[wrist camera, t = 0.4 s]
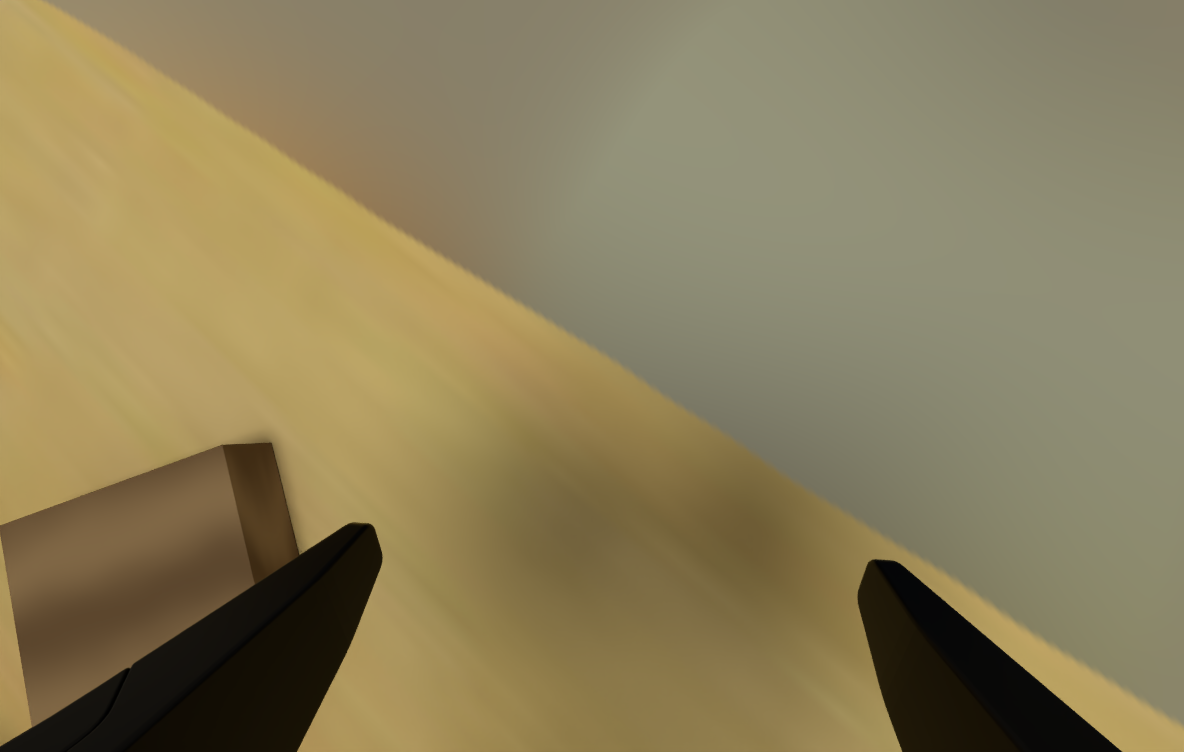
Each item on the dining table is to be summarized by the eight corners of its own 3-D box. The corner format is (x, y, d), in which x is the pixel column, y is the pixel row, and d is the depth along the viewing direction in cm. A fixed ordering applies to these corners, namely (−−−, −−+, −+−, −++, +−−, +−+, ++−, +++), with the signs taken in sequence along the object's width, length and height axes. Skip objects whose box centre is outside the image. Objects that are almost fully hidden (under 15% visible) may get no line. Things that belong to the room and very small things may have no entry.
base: (328, 674, 24) (283, 709, 21) (114, 744, 25) (42, 787, 22) (270, 442, 25) (222, 445, 22) (71, 514, 26) (-1, 525, 23)
